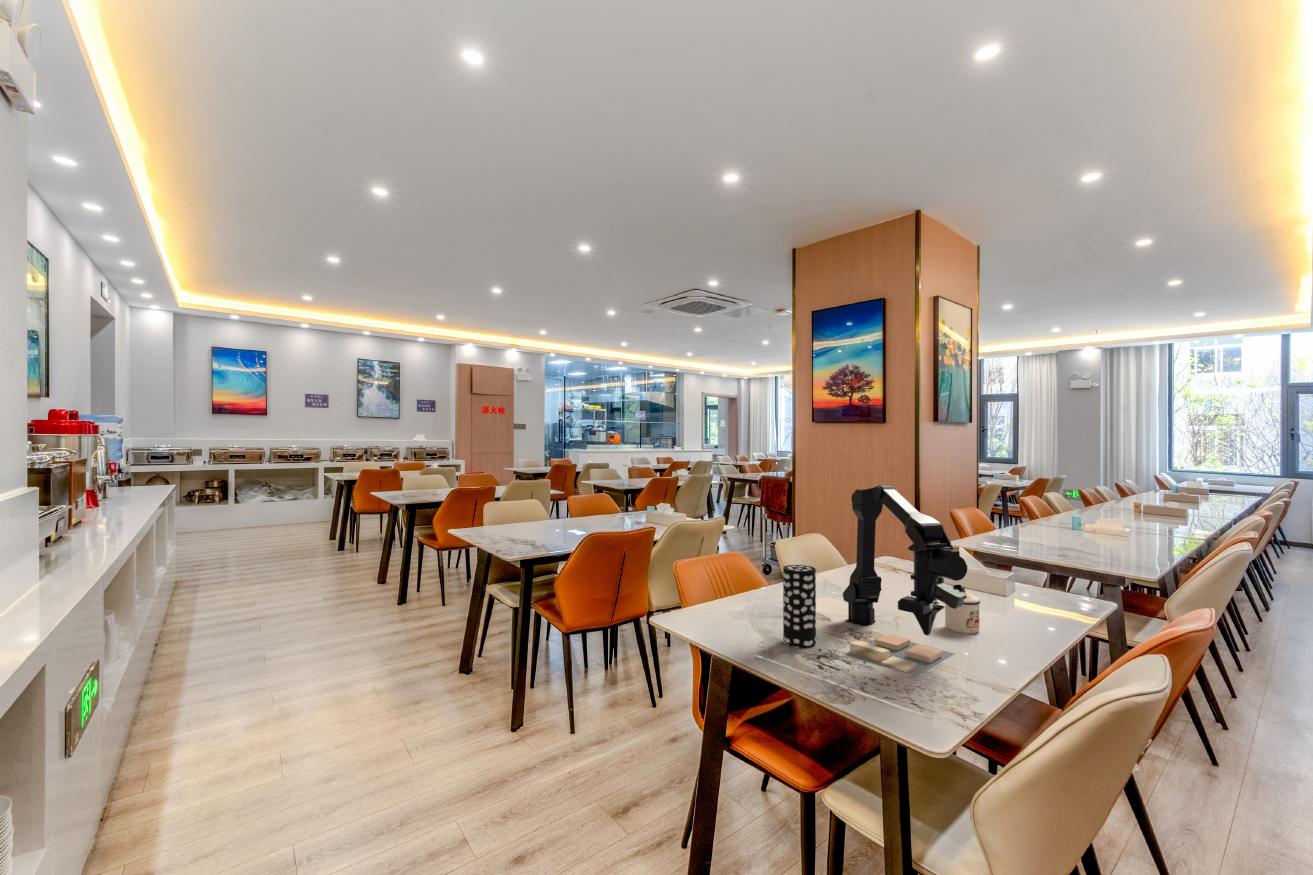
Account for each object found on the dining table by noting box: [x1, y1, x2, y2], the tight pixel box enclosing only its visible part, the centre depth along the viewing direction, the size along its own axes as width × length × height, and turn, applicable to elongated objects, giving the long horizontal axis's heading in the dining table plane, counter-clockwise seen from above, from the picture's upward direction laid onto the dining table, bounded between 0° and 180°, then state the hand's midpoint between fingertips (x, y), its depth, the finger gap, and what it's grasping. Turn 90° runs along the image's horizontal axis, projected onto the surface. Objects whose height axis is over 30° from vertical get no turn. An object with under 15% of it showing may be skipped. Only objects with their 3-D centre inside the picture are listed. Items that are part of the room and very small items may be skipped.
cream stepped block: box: [849, 640, 917, 673], centre depth 137 cm, size 15×6×2 cm, turn 41°
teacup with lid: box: [944, 588, 981, 635], centre depth 163 cm, size 12×9×12 cm
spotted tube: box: [782, 564, 817, 649], centre depth 150 cm, size 8×8×20 cm
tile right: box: [905, 643, 943, 664], centre depth 139 cm, size 6×2×7 cm
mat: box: [844, 639, 956, 677], centre depth 142 cm, size 18×21×1 cm
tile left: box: [874, 633, 911, 651], centre depth 147 cm, size 6×2×7 cm
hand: (927, 634), depth 140 cm, fingers closed
